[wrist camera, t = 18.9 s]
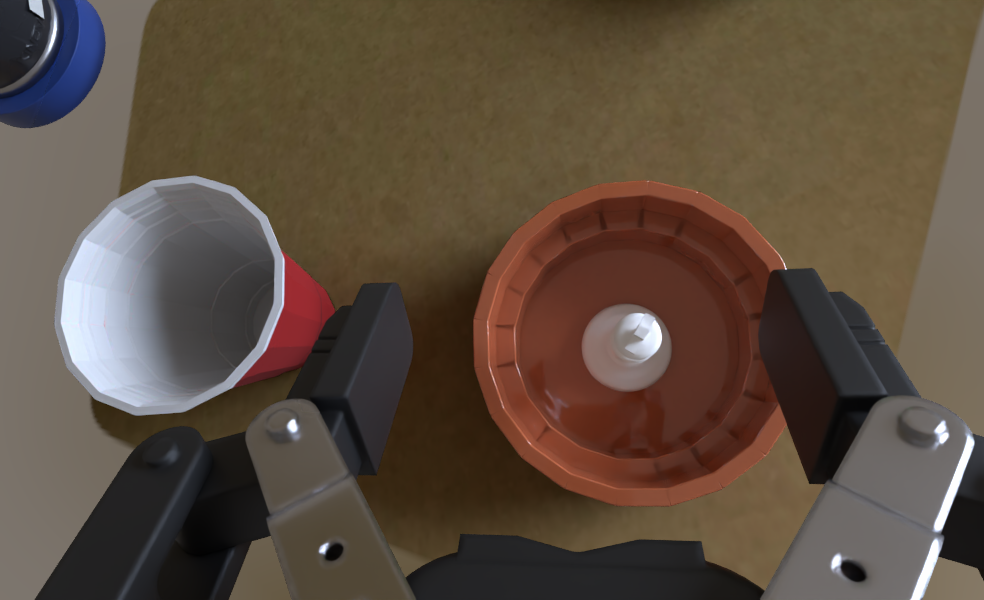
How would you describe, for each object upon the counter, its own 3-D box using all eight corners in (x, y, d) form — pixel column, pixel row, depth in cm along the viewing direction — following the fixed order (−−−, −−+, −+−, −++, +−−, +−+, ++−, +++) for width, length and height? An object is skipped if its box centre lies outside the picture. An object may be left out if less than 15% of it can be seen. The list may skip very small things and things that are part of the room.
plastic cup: (409, 284, 36) (322, 236, 24) (321, 439, 36) (189, 466, 24) (271, 207, 38) (132, 130, 27) (187, 352, 38) (8, 338, 26)
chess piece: (688, 332, 32) (730, 310, 23) (643, 408, 32) (666, 420, 23) (609, 288, 34) (617, 248, 24) (565, 362, 33) (555, 353, 24)
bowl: (459, 436, 34) (434, 446, 29) (531, 186, 36) (521, 151, 30) (732, 525, 31) (761, 554, 26) (800, 248, 33) (841, 222, 27)
